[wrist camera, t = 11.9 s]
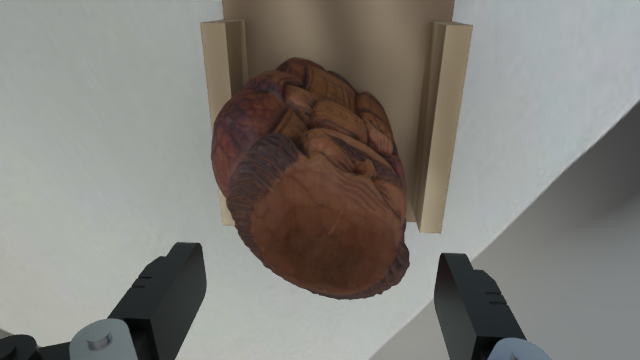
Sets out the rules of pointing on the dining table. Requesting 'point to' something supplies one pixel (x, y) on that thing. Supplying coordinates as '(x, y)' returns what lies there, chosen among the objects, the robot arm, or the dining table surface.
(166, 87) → the dining table surface
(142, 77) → the dining table surface
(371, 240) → the wooden figurine
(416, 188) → the light wood shelf
